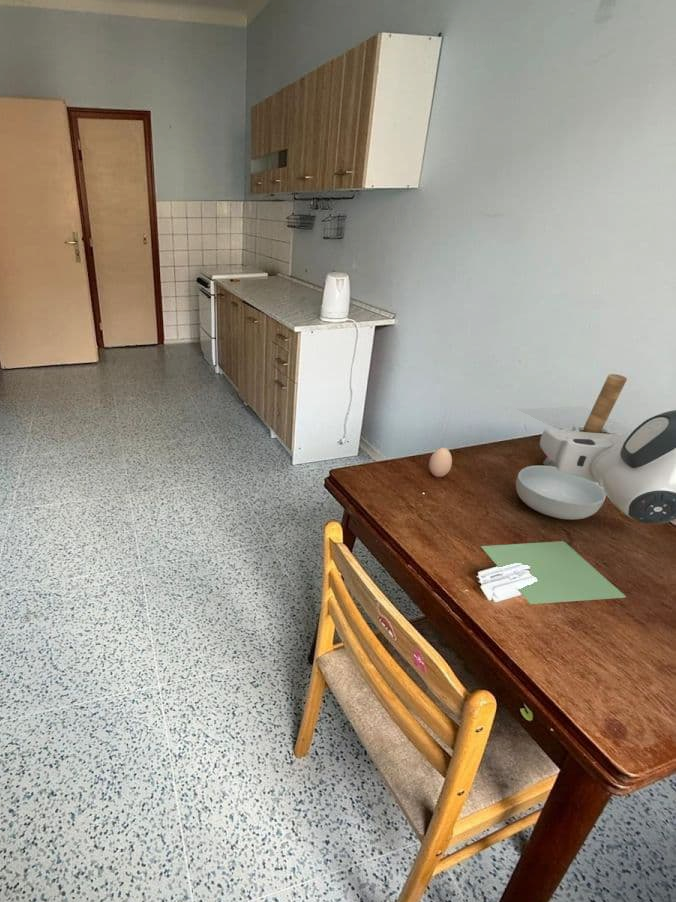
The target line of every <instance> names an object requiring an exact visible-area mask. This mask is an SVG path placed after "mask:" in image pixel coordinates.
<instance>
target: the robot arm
mask: <svg viewBox="0 0 676 902" xmlns="http://www.w3.org/2000/svg"><path fill="white" fill-rule="evenodd" d="M583 428H584V427H582V426H573V427H572V430H566V429H563V430H560V429H555V428H546V429H544V430H543V432H542V434H541V436H540V440H539V446H540V448H541V450H542V452H543V453H544V454H545V455H546V456H547V457H548V458H549V459H551V460H552V461H554V462H556V463H557V466H556V468H557V469H558V470H559V471H561V472H564V473H568V474H572V475H576V476H579V477H583V478H585V479H588V480H590V481H593V482H596V483H597V484H598V485H600V486H601V487H602V488H603V490H604V492H605V494H606V498H608V499H609V501H611V503H612V504H613V505H614V506H615V507H616V508H617V509H618V510H619V511H620V512H621V514H623V515H625V516H626V517H627V518H629V519H632V520H633V521H636V522H639V523H643V524H652V525H658V524H665V523H669V522H673V521H676V409H674V410H668V411H664V412H661V413H659V414H656V415H654V416H652V417H650V418H647V419H645V420H644V421H643V422H642V423H640V424H639V425H638V426H637V427H635V428H634V430H633V431H632V432H631V433H630V434H628V435H627V434H626V435H624V434H617V433H615V432H612V431H610V430H609V429H607V428H603V429H602V431H601V433H591V432H584V429H583Z"/></svg>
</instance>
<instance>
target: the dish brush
mask: <svg viewBox="0 0 676 902" xmlns="http://www.w3.org/2000/svg"><path fill="white" fill-rule="evenodd" d="M627 380H628V378H627V377H625V376H624V375H620V374H615V373H609V374H608V375H607V376H606V379H605V381H604V383H603V385H602V386H601V389H600V392H599V394H598V396H597V398H596V399H595V403H594V405H593V407H592V409H591V410H590V412H589V415H588V417H587V419H586V420H585V423H584V425H583V427H582V428H583V429H584V432H591V433H601V431H602V429H604V426H605V425H606V422H607V420H608V419H609V416H610V414H611V412H612V411H613V408H614V406H615V404H616V402H617V401H618V399H619V396H620V395H621V392H622V391H623V389H624V387H625V385H626V383H627Z"/></svg>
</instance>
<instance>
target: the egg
mask: <svg viewBox="0 0 676 902" xmlns="http://www.w3.org/2000/svg"><path fill="white" fill-rule="evenodd" d="M452 465H453V458H452V454H451V452H450V450H449V449H448V448H446V447H439V448H438V449H436V450H435V451H434V452H433V453H432V455H431V456H430V458H429V463H428V468H429V471H430V473H431V474H432V476H434V477H436V478H442V477H444V476H446V475H447V474H448V473H449V472H450V471H451V469H452Z"/></svg>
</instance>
